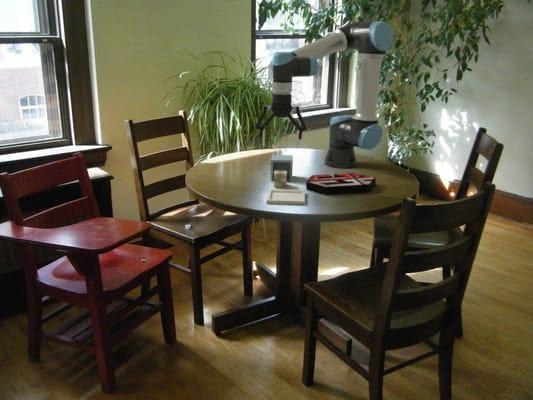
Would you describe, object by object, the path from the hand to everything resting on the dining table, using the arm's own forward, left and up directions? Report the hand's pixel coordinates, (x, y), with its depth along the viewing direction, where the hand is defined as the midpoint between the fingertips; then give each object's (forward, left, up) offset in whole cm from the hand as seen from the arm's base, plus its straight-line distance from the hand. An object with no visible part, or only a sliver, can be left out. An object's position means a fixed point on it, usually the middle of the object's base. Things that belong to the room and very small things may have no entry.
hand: (280, 146), depth 213 cm
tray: (-3, +16, -16) cm, 23 cm away
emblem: (-25, -1, -17) cm, 31 cm away
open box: (0, -12, -17) cm, 20 cm away
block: (0, 0, -17) cm, 17 cm away
